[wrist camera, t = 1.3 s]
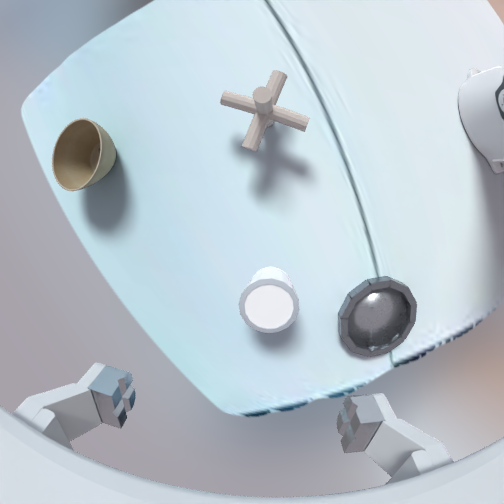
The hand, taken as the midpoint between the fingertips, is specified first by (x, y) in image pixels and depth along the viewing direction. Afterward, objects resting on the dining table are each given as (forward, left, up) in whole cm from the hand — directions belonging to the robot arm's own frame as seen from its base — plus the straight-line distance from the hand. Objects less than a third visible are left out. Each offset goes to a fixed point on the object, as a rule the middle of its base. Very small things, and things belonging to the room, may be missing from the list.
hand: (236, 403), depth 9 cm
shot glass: (0, +5, -28) cm, 29 cm away
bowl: (-15, +12, -28) cm, 34 cm away
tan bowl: (+22, -18, -28) cm, 40 cm away
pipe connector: (-3, -17, -28) cm, 33 cm away
